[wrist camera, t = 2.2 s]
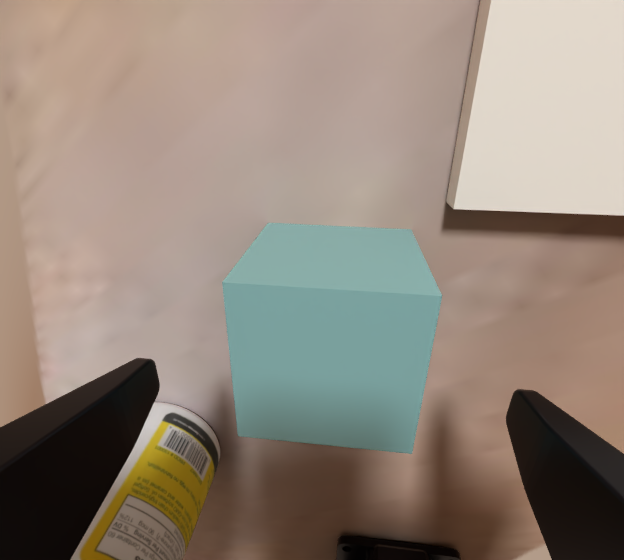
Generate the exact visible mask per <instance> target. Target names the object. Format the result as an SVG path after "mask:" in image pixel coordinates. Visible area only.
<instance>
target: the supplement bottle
mask: <svg viewBox="0 0 624 560" xmlns="http://www.w3.org/2000/svg"><path fill="white" fill-rule="evenodd" d="M219 460H220V447H219V442H218V440H217V437H216V435H215V433H214V432H213V430H212V429H211V427H210V426H209V425H208V424H207V423H206V422H205V421H204V420H203V419H202V418H200V417H199V416H198V415H196V414H195V413H193V412H191V411H189V410H187V409H185V408H183V407H180V406H177V405H174V404H169V403H163V402H154V404H153V406H152V408H151V411H150V413H149V415H148V417H147V420H146V422H145V424H144V426H143V429H142V431H141V433H140V435H139V438H138V440H137V442H136V444H135V446H134V448H133V450H132V452H131V454H130V455H129V457H128V459H127V461H126V463H125V464H124V466H123V468H122V470H121V471H120V473H119V475H118V477H117V478H116V480H115V482H114V484H113V485H112V487H111V489H110V491H109V493H108V494H107V496H106V498H105V500H104V501H103V503H102V505H101V507H100V508H99V510H98V512H97V514H96V515H95V517H94V519H93V521H92V522H91V524H90V526H89V528H88V530H87V531H86V533H85V535H84V537H83V538H82V540H81V542H80V544H79V545H78V547H77V549H76V551H75V552H74V554H73V556H72V558H71V559H70V560H183V557H184V555H185V552H186V549H187V546H188V544H189V541H190V539H191V536H192V533H193V531H194V528H195V525H196V523H197V520H198V517H199V515H200V512H201V510H202V507H203V504H204V502H205V499H206V496H207V494H208V491H209V488H210V486H211V483H212V480H213V478H214V475H215V472H216V470H217V467H218V464H219Z"/></svg>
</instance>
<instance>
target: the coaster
mask: <svg viewBox="0 0 624 560" xmlns="http://www.w3.org/2000/svg"><path fill="white" fill-rule="evenodd" d="M446 202H447V203H448V204H449V205H450V206H451V207H452V208H453V209H463V210H490V211H516V212H543V213H570V214H596V215H623V216H624V0H480V5H479V11H478V17H477V23H476V29H475V35H474V41H473V46H472V52H471V58H470V64H469V70H468V76H467V82H466V88H465V93H464V99H463V105H462V111H461V117H460V123H459V129H458V135H457V140H456V146H455V152H454V158H453V164H452V170H451V176H450V182H449V188H448V193H447V199H446Z"/></svg>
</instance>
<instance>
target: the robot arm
mask: <svg viewBox="0 0 624 560" xmlns="http://www.w3.org/2000/svg"><path fill="white" fill-rule="evenodd" d="M159 387H160V384H159V379H158V374H157V369H156V365H155V362H154V361H153V360H152V359H145V358H136V359H134V360H132V361H130V362H128V363H126V364H124V365H122V366H120V367H118V368H116V369H115V370H113V371H111V372H109V373H107V374H105V375H103V376H101V377H99V378H97V379H95V380H93V381H91V382H89V383H87V384H85V385H83V386H81V387H79V388H77V389H75V390H73V391H71V392H69V393H67V394H65V395H63V396H61V397H59V398H57V399H55V400H54V401H52V402H50V403H48V404H46V405H44V406H42V407H40V408H38V409H36V410H34V411H32V412H30V413H28V414H26V415H24V416H22V417H20V418H18V419H16V420H14V421H12V422H10V423H8V424H6V425H5V426H2V427H0V560H70V559H71V558H72V556H73V554H74V552H75V551H76V549H77V547H78V545H79V544H80V542H81V540H82V538H83V537H84V535H85V533H86V531H87V530H88V528H89V526H90V524H91V522H92V521H93V519H94V517H95V515H96V514H97V512H98V510H99V508H100V507H101V505H102V503H103V501H104V500H105V498H106V496H107V494H108V493H109V491H110V489H111V487H112V485H113V484H114V482H115V480H116V478H117V477H118V475H119V473H120V471H121V470H122V468H123V466H124V464H125V463H126V461H127V459H128V457H129V455H130V454H131V452H132V450H133V448H134V446H135V444H136V442H137V440H138V438H139V435H140V433H141V431H142V429H143V426H144V424H145V422H146V420H147V417H148V415H149V413H150V411H151V408H152V406H153V404H154V402H155V399H156V397H157V395H158V392H159ZM506 424H507V428H508V432H509V435H510V439H511V443H512V446H513V450H514V453H515V457H516V461H517V464H518V468H519V472H520V475H521V479H522V482H523V485H524V489H525V491H526V494H527V497H528V500H529V502H530V505H531V507H532V510H533V512H534V515H535V518H536V520H537V523H538V525H539V528H540V530H541V533H542V535H543V538H544V541H545V543H546V546H547V548H548V550H549V553H550V556H551V558H552V560H624V454H623V453H622V452H620V451H619V450H618V449H616V448H615V447H613V446H612V445H611V444H609V443H608V442H606V441H605V440H604V439H602V438H601V437H599V436H598V435H597V434H595V433H594V432H592V431H591V430H590V429H588V428H587V427H585V426H584V425H583V424H581V423H580V422H578V421H577V420H576V419H574V418H573V417H571V416H570V415H569V414H567V413H566V412H564V411H563V410H561V409H560V408H559V407H557V406H556V405H554V404H553V403H552V402H550V401H549V400H547V399H546V398H545V397H543V396H542V395H540V394H539V393H538V392H536V391H533V390H523V389H518V390H515V392H514V393H513V396H512V399H511V402H510V405H509V408H508V411H507V415H506ZM336 560H461V557H460V553H459V552H458V551H457V550H455V549H451V548H443V547H435V546H427V545H419V544H411V543H403V542H395V541H387V540H379V539H371V538H363V537H355V536H341V537H339V538H338V545H337V559H336Z"/></svg>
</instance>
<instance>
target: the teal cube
mask: <svg viewBox="0 0 624 560" xmlns="http://www.w3.org/2000/svg"><path fill="white" fill-rule="evenodd" d="M222 284H223V294H224V304H225V314H226V324H227V334H228V343H229V353H230V363H231V373H232V383H233V393H234V403H235V412H236V422H237V432H238V436H241V437H251V438H261V439H271V440H281V441H290V442H300V443H310V444H320V445H330V446H340V447H349V448H359V449H369V450H379V451H389V452H399V453H409V454H412V451H413V446H414V440H415V435H416V430H417V425H418V419H419V414H420V409H421V404H422V399H423V393H424V388H425V383H426V378H427V372H428V367H429V362H430V357H431V352H432V346H433V341H434V336H435V331H436V325H437V320H438V315H439V310H440V304H441V299H442V295H441V293H440V290H439V288H438V286H437V284H436V282H435V280H434V278H433V275H432V273H431V271H430V269H429V267H428V265H427V263H426V260H425V258H424V256H423V254H422V252H421V250H420V248H419V245H418V243H417V241H416V239H415V237H414V235H413V233H412V230H410V229H388V228H367V227H345V226H324V225H303V224H281V223H268V224H267V225H266V226H265V228H264V229H263V230H262V232H261V233H260V234H259V235H258V237H257V238H256V239H255V241H254V242H253V243H252V245H251V246H250V247H249V248H248V250H247V251H246V252H245V254H244V255H243V256H242V257H241V259H240V260H239V261H238V263H237V264H236V265H235V267H234V268H233V269H232V270H231V272H230V273H229V274H228V276H227V277H226V278H225V280H224V281H223V282H222Z"/></svg>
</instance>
